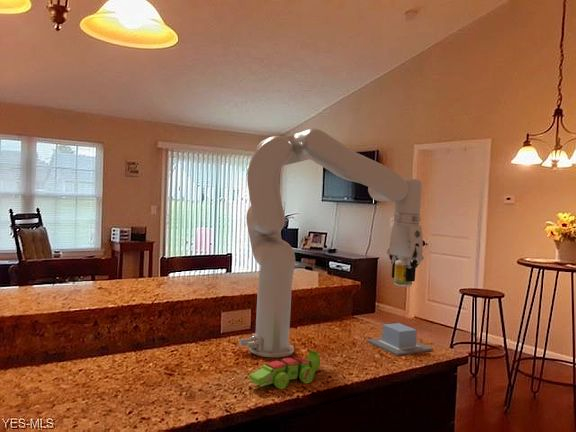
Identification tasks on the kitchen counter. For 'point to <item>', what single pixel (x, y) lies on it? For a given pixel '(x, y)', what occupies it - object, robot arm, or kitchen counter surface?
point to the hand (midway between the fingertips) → (403, 278)
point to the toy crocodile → (287, 371)
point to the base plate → (399, 351)
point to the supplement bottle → (401, 272)
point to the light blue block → (399, 335)
